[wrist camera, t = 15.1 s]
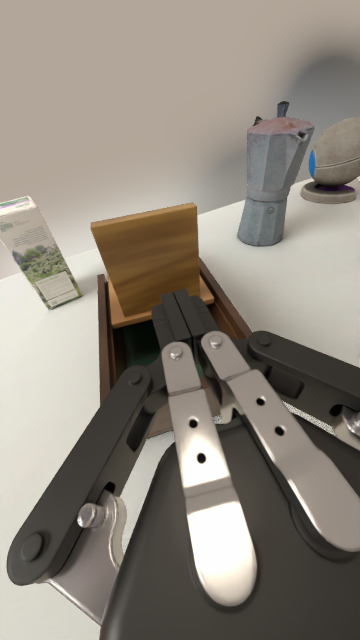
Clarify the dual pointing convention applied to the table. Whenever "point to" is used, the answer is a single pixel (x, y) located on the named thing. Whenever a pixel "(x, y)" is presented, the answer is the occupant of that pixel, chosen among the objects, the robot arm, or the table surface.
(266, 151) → the moka pot
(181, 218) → the lid
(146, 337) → the box
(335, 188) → the webcam
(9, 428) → the table surface
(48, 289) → the syrup box
